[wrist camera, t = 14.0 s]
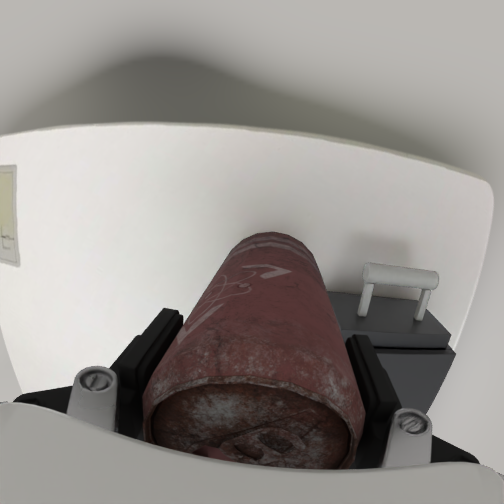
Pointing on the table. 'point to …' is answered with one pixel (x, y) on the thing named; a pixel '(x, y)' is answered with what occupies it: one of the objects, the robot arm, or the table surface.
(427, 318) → the drawer
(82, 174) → the table surface
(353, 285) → the table surface
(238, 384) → the can
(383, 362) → the dark grey cabinet
